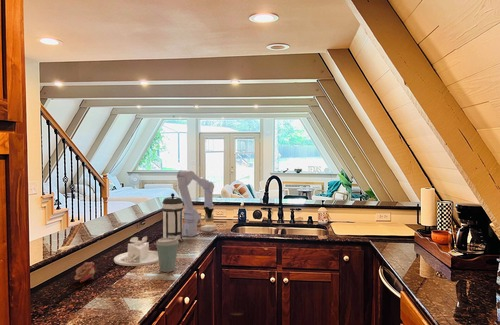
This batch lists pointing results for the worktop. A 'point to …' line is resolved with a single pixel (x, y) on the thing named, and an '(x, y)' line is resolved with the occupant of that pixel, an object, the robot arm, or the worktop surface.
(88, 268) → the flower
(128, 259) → the dish
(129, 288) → the worktop surface
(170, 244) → the disposable coffee cup
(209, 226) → the ceramic plinth
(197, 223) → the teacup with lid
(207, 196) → the robot arm
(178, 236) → the coffee press
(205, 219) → the brass cube
